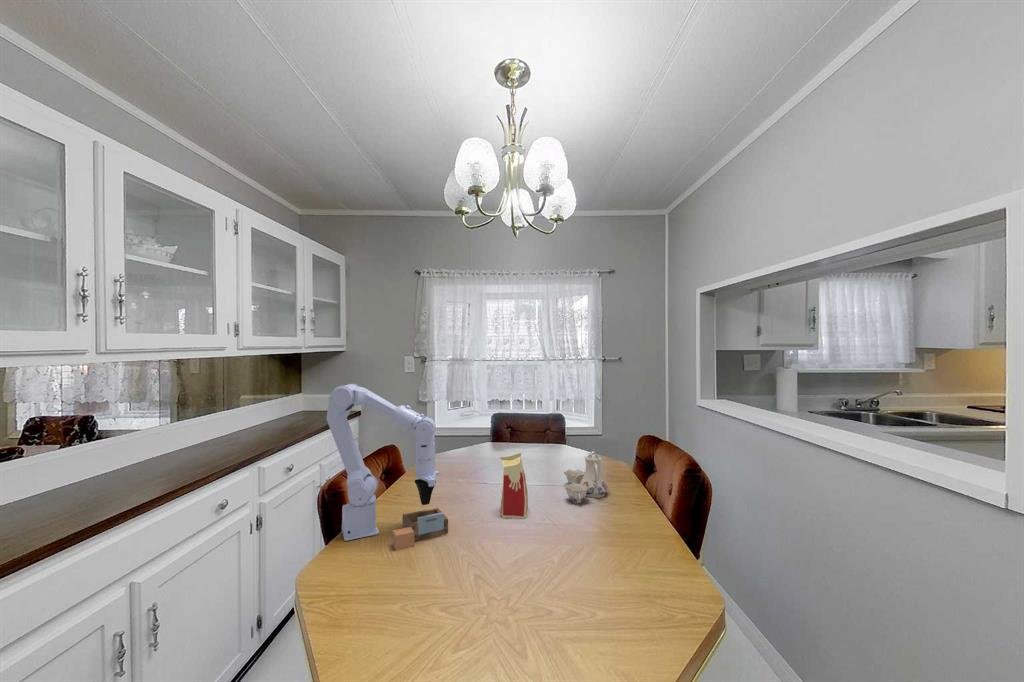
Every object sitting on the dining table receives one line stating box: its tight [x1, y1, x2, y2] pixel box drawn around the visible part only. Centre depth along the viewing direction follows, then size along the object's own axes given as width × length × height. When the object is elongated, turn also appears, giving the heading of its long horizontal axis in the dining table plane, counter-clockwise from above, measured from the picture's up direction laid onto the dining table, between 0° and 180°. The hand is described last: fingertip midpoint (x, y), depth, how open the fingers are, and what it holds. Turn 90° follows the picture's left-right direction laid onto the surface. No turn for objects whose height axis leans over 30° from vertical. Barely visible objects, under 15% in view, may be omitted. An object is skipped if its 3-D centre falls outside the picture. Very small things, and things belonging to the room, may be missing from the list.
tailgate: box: [417, 511, 445, 535], centre depth 116 cm, size 8×1×5 cm, turn 119°
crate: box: [402, 507, 449, 541], centre depth 121 cm, size 11×11×4 cm
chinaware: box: [563, 450, 609, 504], centre depth 153 cm, size 28×17×17 cm, turn 178°
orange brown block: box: [392, 527, 415, 551], centre depth 112 cm, size 5×4×4 cm
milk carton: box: [499, 452, 529, 520], centre depth 134 cm, size 9×9×20 cm
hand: (425, 503), depth 121 cm, fingers closed
